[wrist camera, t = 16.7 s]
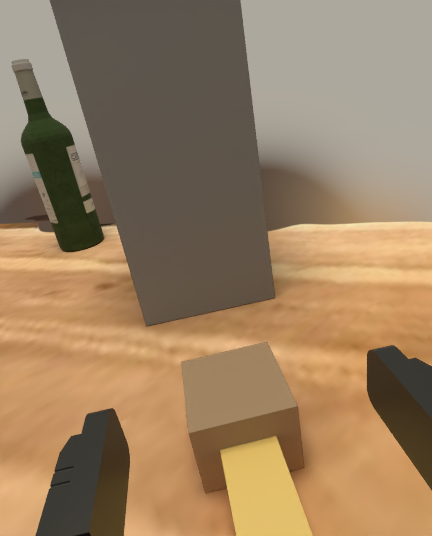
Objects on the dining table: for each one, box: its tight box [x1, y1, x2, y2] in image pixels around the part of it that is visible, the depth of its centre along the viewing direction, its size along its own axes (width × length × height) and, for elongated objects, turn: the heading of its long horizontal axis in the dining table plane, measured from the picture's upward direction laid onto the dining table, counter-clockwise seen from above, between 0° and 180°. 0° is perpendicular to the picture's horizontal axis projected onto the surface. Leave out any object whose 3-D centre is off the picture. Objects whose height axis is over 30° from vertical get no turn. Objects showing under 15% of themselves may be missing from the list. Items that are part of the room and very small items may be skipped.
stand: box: [50, 0, 275, 326], centre depth 40 cm, size 17×15×32 cm
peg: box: [181, 342, 313, 536], centre depth 17 cm, size 21×6×5 cm, turn 9°
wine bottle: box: [12, 59, 103, 252], centre depth 63 cm, size 8×8×30 cm
